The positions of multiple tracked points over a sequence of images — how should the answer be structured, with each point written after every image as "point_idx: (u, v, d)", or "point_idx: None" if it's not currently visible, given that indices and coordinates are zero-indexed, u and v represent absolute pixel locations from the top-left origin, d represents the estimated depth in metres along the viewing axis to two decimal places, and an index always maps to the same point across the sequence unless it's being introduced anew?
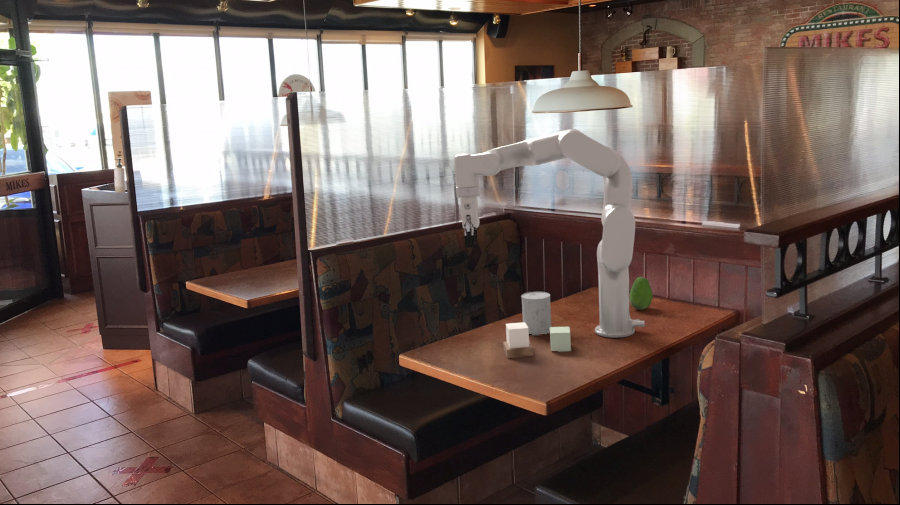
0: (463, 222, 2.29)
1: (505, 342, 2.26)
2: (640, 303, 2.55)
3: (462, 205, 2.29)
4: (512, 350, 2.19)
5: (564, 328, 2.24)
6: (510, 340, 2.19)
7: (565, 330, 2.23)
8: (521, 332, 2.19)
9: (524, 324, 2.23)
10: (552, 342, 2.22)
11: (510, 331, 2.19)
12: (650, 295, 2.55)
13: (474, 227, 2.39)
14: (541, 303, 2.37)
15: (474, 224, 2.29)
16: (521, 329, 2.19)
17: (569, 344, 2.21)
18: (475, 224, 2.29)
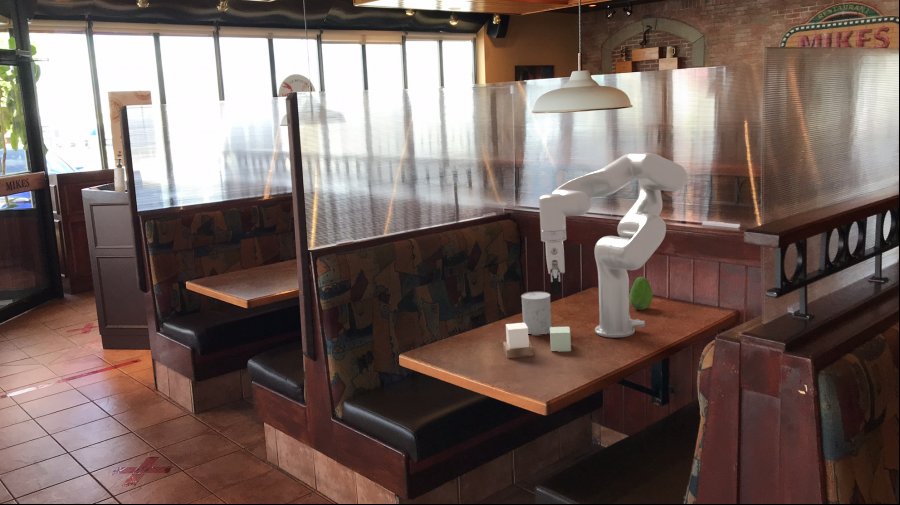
0: (549, 268, 2.15)
1: (505, 342, 2.26)
2: (640, 303, 2.55)
3: (548, 250, 2.15)
4: (512, 350, 2.19)
5: (564, 328, 2.24)
6: (510, 340, 2.19)
7: (565, 330, 2.23)
8: (521, 333, 2.19)
9: (524, 324, 2.22)
10: (552, 342, 2.22)
11: (510, 331, 2.19)
12: (650, 295, 2.55)
13: (558, 271, 2.25)
14: (541, 303, 2.37)
15: (561, 270, 2.15)
16: (521, 329, 2.19)
17: (569, 344, 2.21)
18: (562, 270, 2.15)
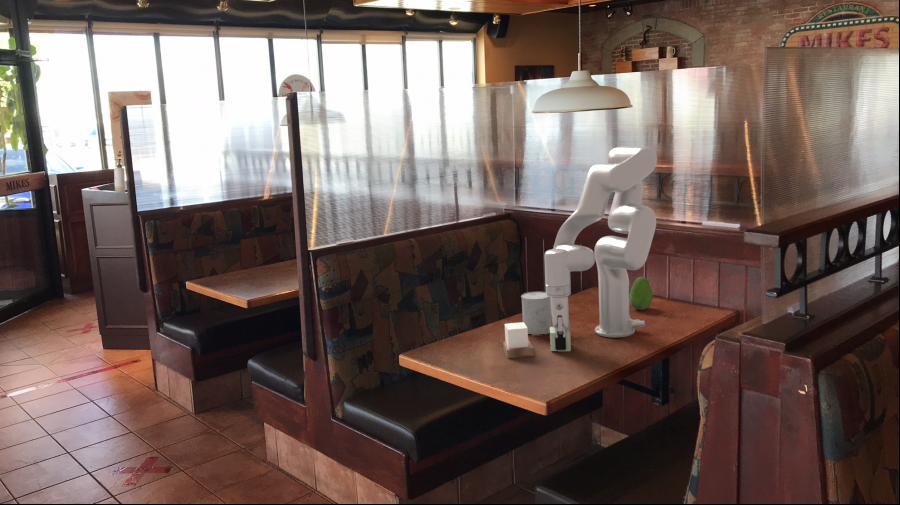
0: (554, 325, 2.19)
1: (505, 342, 2.26)
2: (640, 303, 2.55)
3: (553, 305, 2.18)
4: (512, 350, 2.19)
5: None
6: (509, 340, 2.19)
7: (565, 330, 2.23)
8: (521, 332, 2.19)
9: (523, 324, 2.23)
10: (552, 342, 2.22)
11: (509, 331, 2.19)
12: (650, 295, 2.55)
13: (562, 327, 2.27)
14: (541, 303, 2.37)
15: (566, 325, 2.18)
16: (520, 329, 2.19)
17: (569, 344, 2.21)
18: (566, 325, 2.18)
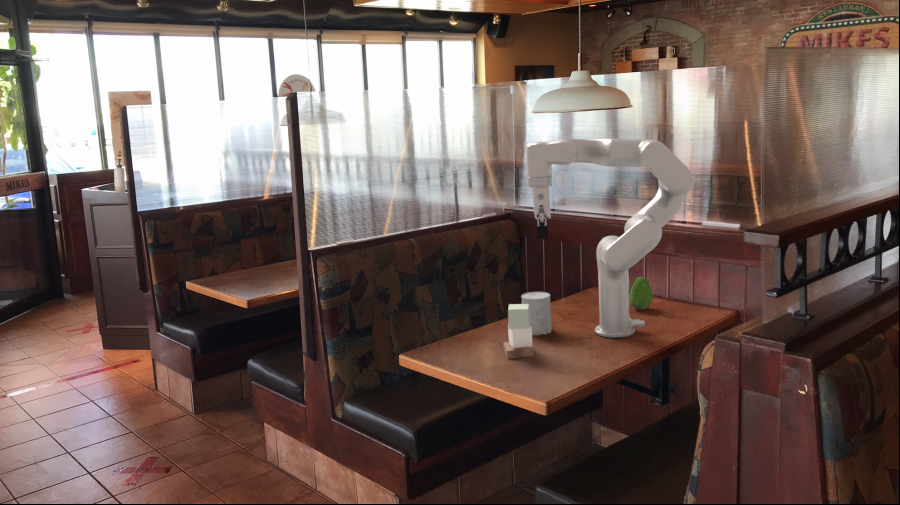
0: (536, 213, 2.24)
1: (505, 343, 2.25)
2: (640, 303, 2.55)
3: (535, 195, 2.23)
4: (512, 351, 2.19)
5: (523, 305, 2.22)
6: (514, 340, 2.20)
7: (524, 307, 2.20)
8: (525, 332, 2.20)
9: None
10: (510, 319, 2.19)
11: (514, 331, 2.19)
12: (650, 295, 2.55)
13: None
14: (541, 303, 2.37)
15: (547, 215, 2.24)
16: None
17: (527, 321, 2.18)
18: (548, 214, 2.24)
